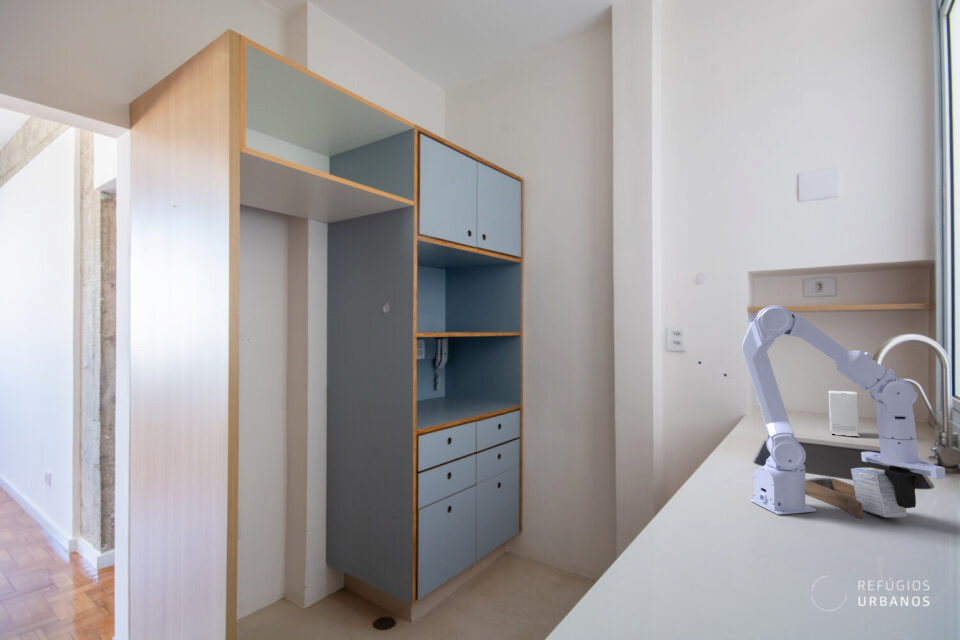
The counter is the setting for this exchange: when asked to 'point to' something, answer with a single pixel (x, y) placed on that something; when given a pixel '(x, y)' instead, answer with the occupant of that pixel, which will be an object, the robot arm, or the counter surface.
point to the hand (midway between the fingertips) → (904, 506)
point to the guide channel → (834, 494)
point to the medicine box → (876, 492)
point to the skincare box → (843, 411)
